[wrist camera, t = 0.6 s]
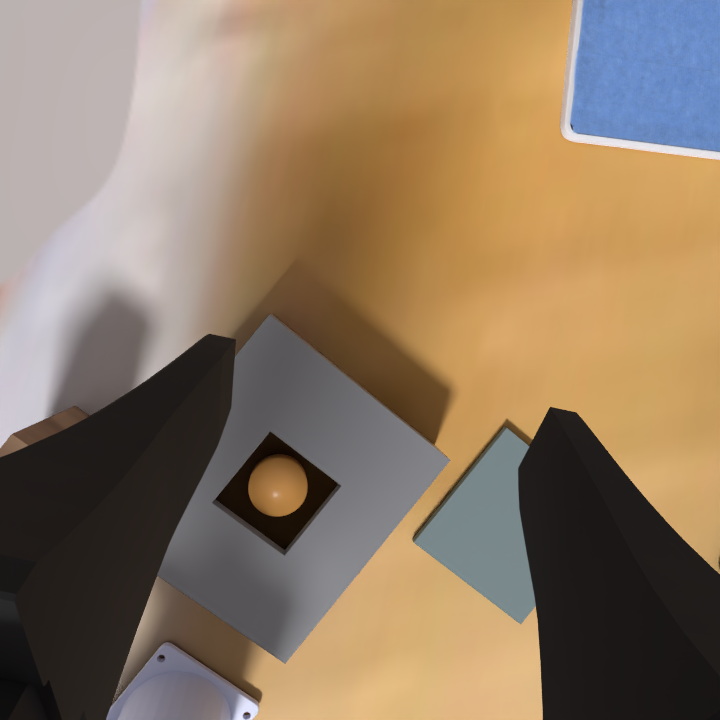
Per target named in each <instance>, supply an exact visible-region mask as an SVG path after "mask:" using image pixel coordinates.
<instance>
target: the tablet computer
mask: <svg viewBox="0 0 720 720" xmlns="http://www.w3.org/2000/svg"><path fill="white" fill-rule="evenodd" d="M560 129H561V133H562V135H563V137H564V138H566V139H567V140H569V141H572V142H577V143H587V144H595V145H604V146H612V147H620V148H628V149H636V150H644V151H652V152H660V153H667V154H675V155H683V156H691V157H700V158H708V159H716V160H720V0H573V4H572V13H571V22H570V31H569V40H568V50H567V60H566V69H565V79H564V89H563V100H562V109H561V121H560Z"/></svg>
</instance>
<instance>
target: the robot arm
mask: <svg viewBox="0 0 720 720" xmlns="http://www.w3.org/2000/svg"><path fill="white" fill-rule="evenodd" d="M235 345H236V340H235V339H231V338H226V337H221V336H217V335H212V334H208V335H206V336H205V337H203V338H202V339H201V340H199V341H198V342H197V343H195V344H194V345H193V346H192V347H190V348H189V349H188V350H187V351H185V352H184V353H183V354H181V355H180V356H179V357H178V358H176V359H175V360H174V361H172V362H171V363H170V364H168V365H167V366H166V367H164V368H163V369H162V370H160V371H159V372H157V373H156V374H155V375H153V376H152V377H150V378H149V379H148V380H146V381H145V382H143V383H142V384H141V385H139V386H138V387H136V388H135V389H133V390H131V391H130V392H128V393H127V394H125V395H124V396H122V397H121V398H119V399H117V400H116V401H114V402H113V403H111V404H110V405H108V406H106V407H105V408H103V409H101V410H99V411H98V412H96V413H94V414H93V415H91V416H89V417H87V418H85V419H83V420H82V421H80V422H78V423H76V424H74V425H72V426H70V427H68V428H66V429H64V430H62V431H60V432H58V433H56V434H54V435H51V436H49V437H47V438H45V439H42V440H40V441H38V442H35V443H33V444H31V445H29V446H26V447H24V448H22V449H20V450H17V451H15V452H13V453H10V454H8V455H5V456H2V457H0V720H252V719H253V718H254V717H255V716H256V715H257V713H258V711H259V703H258V702H257V701H256V700H255V699H254V698H252V697H251V696H249V695H248V694H246V693H245V692H243V691H242V690H240V689H239V688H237V687H236V686H234V685H233V684H231V683H230V682H228V681H227V680H225V679H224V678H222V677H221V676H219V675H218V674H216V673H215V672H213V671H212V670H210V669H209V668H207V667H206V666H204V665H203V664H202V663H200V662H199V661H197V660H196V659H194V658H193V657H191V656H190V655H188V654H187V653H185V652H184V651H182V650H181V649H179V648H178V647H176V646H175V645H173V644H172V643H169V642H166V643H163V644H162V645H161V646H160V647H159V648H158V650H157V651H156V652H155V653H154V655H153V656H152V657H151V658H150V659H149V661H148V662H147V663H146V664H145V666H144V667H143V668H142V669H141V671H140V672H139V673H138V674H137V675H136V677H135V678H134V679H133V680H132V682H131V683H130V684H129V685H128V687H127V688H126V689H125V690H124V691H123V693H122V694H121V695H120V696H119V698H118V699H117V700H116V701H115V703H114V704H113V705H112V706H111V704H112V701H113V698H114V695H115V692H116V689H117V686H118V683H119V680H120V677H121V674H122V671H123V668H124V665H125V663H126V660H127V657H128V654H129V651H130V648H131V645H132V643H133V640H134V637H135V634H136V631H137V628H138V626H139V623H140V620H141V617H142V615H143V612H144V609H145V607H146V604H147V601H148V598H149V596H150V593H151V590H152V588H153V585H154V582H155V580H156V577H157V574H158V572H159V569H160V567H161V564H162V561H163V559H164V556H165V554H166V551H167V548H168V546H169V544H170V541H171V539H172V537H173V535H174V532H175V530H176V528H177V526H178V524H179V522H180V520H181V518H182V516H183V514H184V512H185V510H186V508H187V506H188V504H189V502H190V500H191V498H192V496H193V494H194V492H195V490H196V488H197V486H198V484H199V482H200V481H201V479H202V477H203V475H204V473H205V471H206V469H207V467H208V465H209V463H210V461H211V459H212V457H213V455H214V453H215V451H216V448H217V446H218V444H219V441H220V439H221V436H222V433H223V430H224V427H225V425H226V422H227V419H228V416H229V413H230V410H231V405H232V390H233V375H234V360H235ZM518 493H519V510H520V516H521V523H522V529H523V535H524V540H525V546H526V552H527V557H528V563H529V569H530V574H531V580H532V585H533V591H534V597H535V603H536V611H537V618H538V631H539V646H540V660H541V681H542V704H543V720H720V574H719V573H718V572H717V571H715V570H714V569H713V568H712V567H711V566H710V565H709V564H708V563H707V562H706V561H705V560H704V559H703V558H702V557H701V556H700V555H699V554H698V553H697V552H696V551H695V550H694V549H693V548H692V547H690V546H689V545H688V544H687V543H686V542H685V541H684V540H683V539H682V538H681V537H680V536H679V534H678V533H677V532H676V531H675V530H674V529H673V528H672V527H671V526H670V525H669V524H668V523H667V522H666V521H665V519H664V518H663V517H662V516H661V515H660V514H659V513H658V512H657V511H656V509H655V508H654V507H653V506H652V505H651V504H650V503H649V502H648V500H647V499H646V498H645V497H644V496H643V495H642V493H641V492H640V491H639V490H638V489H637V487H636V486H635V485H634V484H633V483H632V481H631V480H630V479H629V478H628V476H627V475H626V474H625V473H624V472H623V470H622V469H621V468H620V467H619V465H618V464H617V463H616V461H615V460H614V459H613V458H612V456H611V455H610V454H609V453H608V451H607V450H606V449H605V447H604V446H603V445H602V444H601V442H600V441H599V440H598V438H597V437H596V436H595V435H594V433H593V432H592V431H591V430H590V428H589V427H588V426H587V425H586V423H585V422H584V421H583V420H582V418H581V417H580V416H579V415H578V414H577V413H576V412H571V411H566V410H562V409H557V408H552V407H550V408H549V410H548V412H547V414H546V416H545V418H544V420H543V422H542V423H541V425H540V427H539V429H538V431H537V433H536V435H535V437H534V439H533V441H532V443H531V444H530V446H529V448H528V450H527V452H526V454H525V456H524V458H523V460H522V462H521V463H520V465H519V467H518ZM159 655H164V656H165V658H164V659H161V658H159ZM245 712H249V713H250V714H249V715H245V714H244V713H245Z"/></svg>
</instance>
